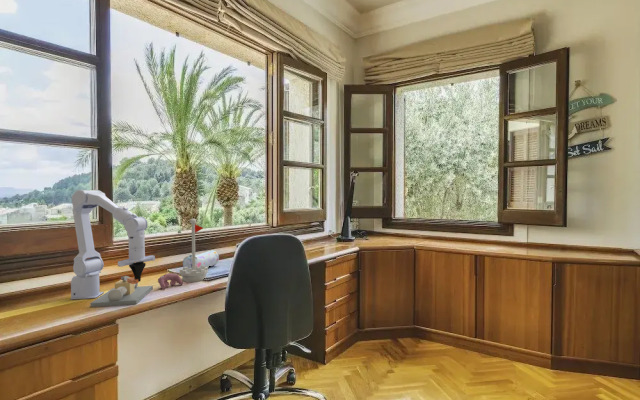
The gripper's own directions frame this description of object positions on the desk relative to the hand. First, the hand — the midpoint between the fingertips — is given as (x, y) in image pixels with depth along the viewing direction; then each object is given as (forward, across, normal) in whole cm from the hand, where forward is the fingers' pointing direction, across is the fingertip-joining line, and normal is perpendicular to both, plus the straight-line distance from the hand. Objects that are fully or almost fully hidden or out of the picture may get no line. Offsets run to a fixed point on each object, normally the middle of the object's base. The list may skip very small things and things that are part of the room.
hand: (137, 281), depth 142 cm
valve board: (+7, 0, +8) cm, 11 cm away
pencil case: (+8, +53, +23) cm, 58 cm away
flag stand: (+8, +34, +8) cm, 36 cm away
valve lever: (0, -1, +4) cm, 4 cm away
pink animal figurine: (+8, +19, +6) cm, 22 cm away
